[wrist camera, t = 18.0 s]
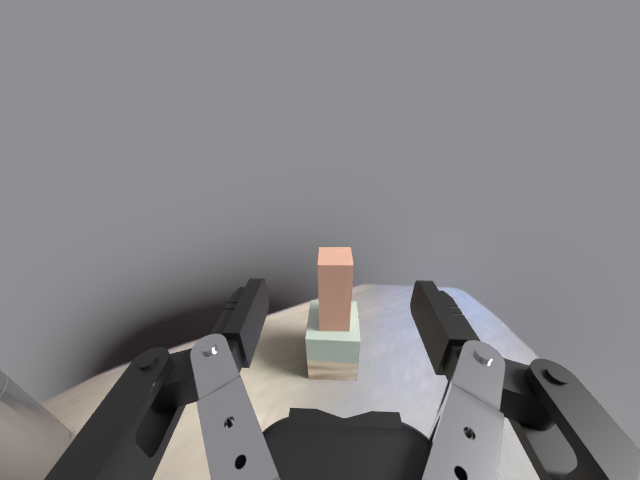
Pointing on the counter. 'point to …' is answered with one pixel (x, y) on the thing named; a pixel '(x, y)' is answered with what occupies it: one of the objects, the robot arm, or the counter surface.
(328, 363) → the tower base block
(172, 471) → the counter surface
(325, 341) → the tower top block
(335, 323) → the peach block
